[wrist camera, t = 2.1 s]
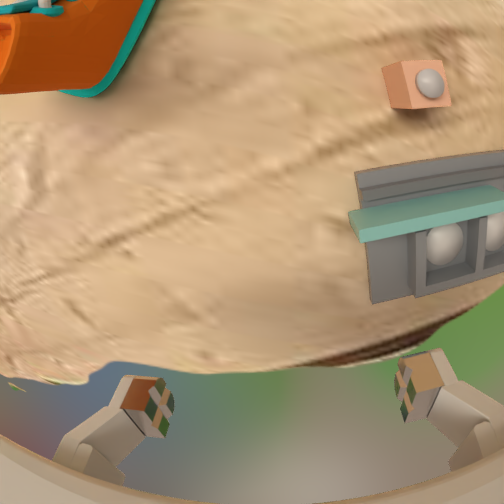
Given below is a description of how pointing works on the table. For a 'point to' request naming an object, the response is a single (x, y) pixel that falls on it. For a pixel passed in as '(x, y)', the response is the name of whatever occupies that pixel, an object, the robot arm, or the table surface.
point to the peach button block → (417, 84)
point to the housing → (433, 239)
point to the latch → (425, 212)
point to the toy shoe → (67, 43)
